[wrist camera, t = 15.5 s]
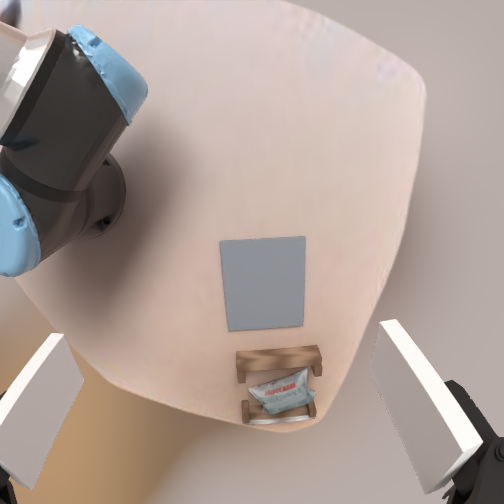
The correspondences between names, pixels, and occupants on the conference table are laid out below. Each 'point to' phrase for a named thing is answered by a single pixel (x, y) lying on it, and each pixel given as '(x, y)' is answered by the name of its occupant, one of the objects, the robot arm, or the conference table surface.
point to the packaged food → (284, 393)
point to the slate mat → (264, 282)
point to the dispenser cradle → (278, 361)
